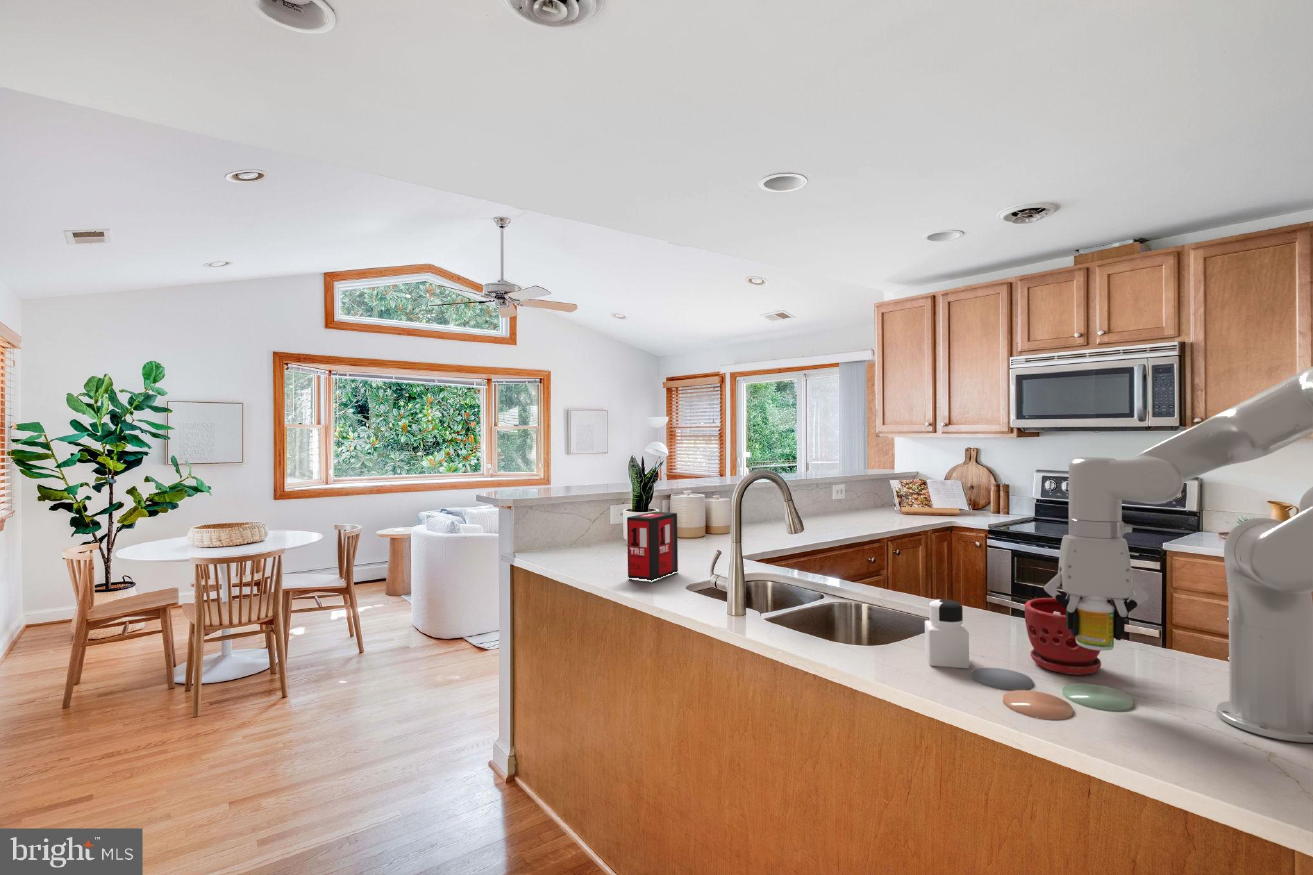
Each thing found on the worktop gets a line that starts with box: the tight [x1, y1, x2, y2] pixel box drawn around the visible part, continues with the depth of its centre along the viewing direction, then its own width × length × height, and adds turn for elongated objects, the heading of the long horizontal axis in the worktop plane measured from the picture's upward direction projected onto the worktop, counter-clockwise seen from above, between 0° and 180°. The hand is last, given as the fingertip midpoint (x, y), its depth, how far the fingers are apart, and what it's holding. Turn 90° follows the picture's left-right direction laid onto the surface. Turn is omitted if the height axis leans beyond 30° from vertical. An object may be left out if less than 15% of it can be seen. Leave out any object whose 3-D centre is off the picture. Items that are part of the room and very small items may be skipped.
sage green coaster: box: [1061, 683, 1134, 712], centre depth 111 cm, size 10×10×1 cm
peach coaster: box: [1002, 689, 1074, 720], centre depth 108 cm, size 10×10×1 cm
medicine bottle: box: [924, 598, 970, 670], centre depth 130 cm, size 7×7×12 cm
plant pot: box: [1024, 597, 1102, 676], centre depth 126 cm, size 13×13×12 cm
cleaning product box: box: [626, 511, 679, 581], centre depth 212 cm, size 16×9×20 cm, turn 148°
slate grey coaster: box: [971, 667, 1034, 691], centre depth 120 cm, size 10×10×1 cm
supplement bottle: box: [1076, 596, 1115, 652], centre depth 111 cm, size 5×5×10 cm
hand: (1094, 634), depth 111 cm, fingers closed on supplement bottle, 5 cm apart
